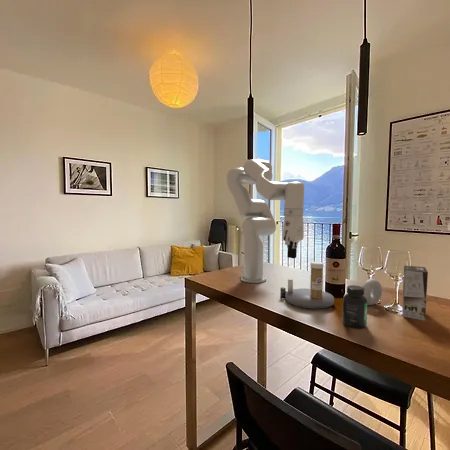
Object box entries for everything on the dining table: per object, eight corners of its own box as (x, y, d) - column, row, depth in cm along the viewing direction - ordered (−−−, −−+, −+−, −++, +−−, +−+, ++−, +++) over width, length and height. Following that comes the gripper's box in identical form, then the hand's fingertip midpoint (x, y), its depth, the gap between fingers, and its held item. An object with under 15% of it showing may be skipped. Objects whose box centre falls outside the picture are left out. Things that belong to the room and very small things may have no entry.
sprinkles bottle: (315, 299, 102) (316, 264, 101) (307, 296, 106) (308, 261, 105) (325, 298, 103) (326, 263, 102) (317, 294, 108) (317, 260, 107)
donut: (366, 308, 100) (367, 281, 99) (358, 305, 103) (358, 279, 102) (383, 304, 105) (384, 278, 104) (375, 301, 108) (376, 276, 107)
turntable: (340, 298, 108) (341, 282, 107) (323, 312, 94) (323, 293, 93) (293, 288, 121) (293, 273, 120) (272, 299, 107) (272, 282, 106)
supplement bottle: (371, 328, 84) (372, 290, 83) (351, 330, 83) (352, 291, 82) (357, 319, 91) (358, 283, 90) (338, 320, 90) (339, 284, 89)
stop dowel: (279, 297, 112) (279, 288, 112) (282, 296, 114) (282, 287, 113) (282, 299, 111) (283, 289, 110) (286, 298, 112) (286, 288, 112)
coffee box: (425, 321, 89) (428, 272, 88) (402, 317, 93) (404, 269, 91) (423, 311, 97) (425, 266, 96) (401, 308, 100) (403, 264, 99)
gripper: (293, 214, 103) (291, 262, 105) (310, 212, 114) (308, 256, 116) (276, 213, 108) (274, 259, 110) (293, 211, 119) (291, 253, 121)
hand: (291, 257), depth 113 cm, fingers closed
